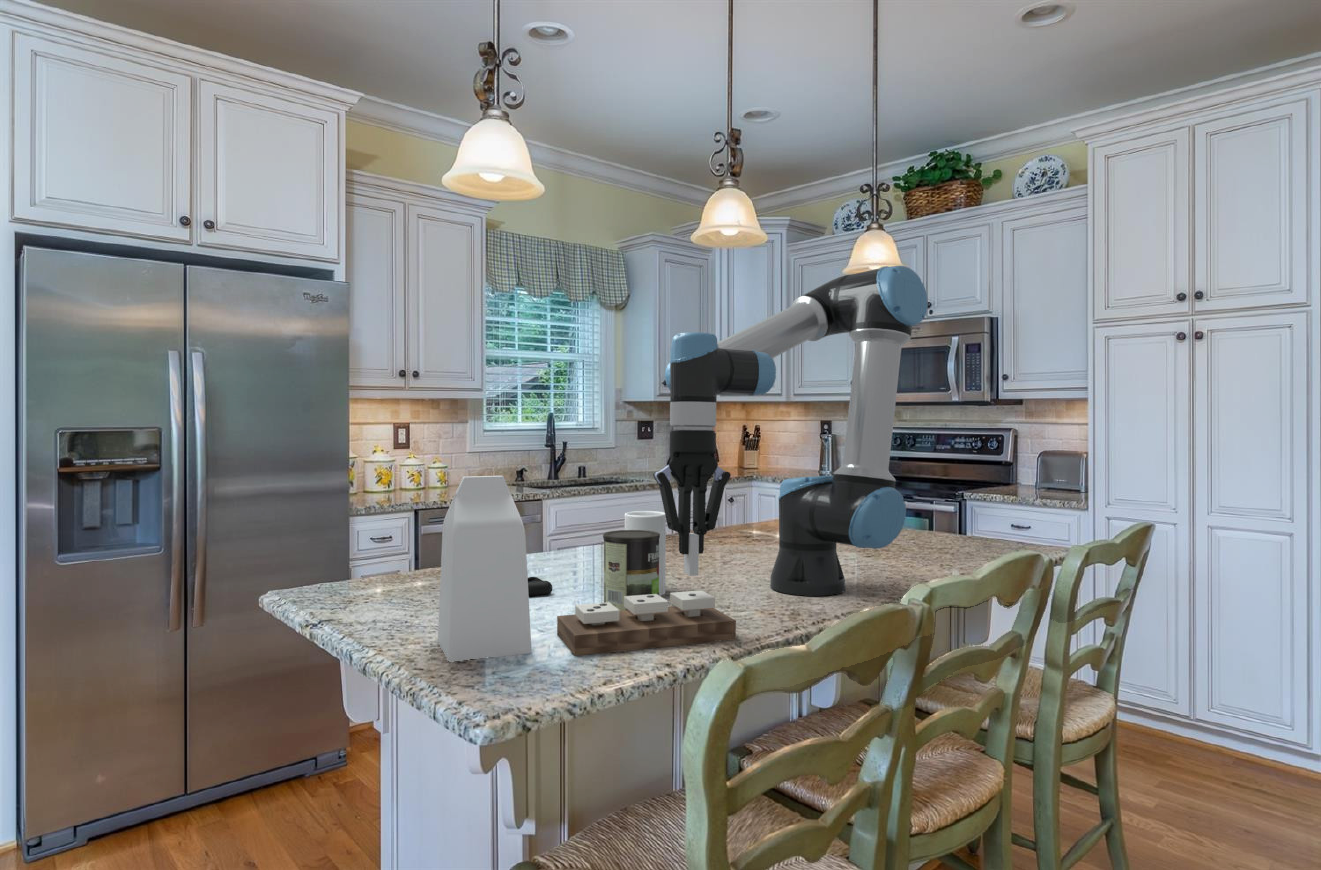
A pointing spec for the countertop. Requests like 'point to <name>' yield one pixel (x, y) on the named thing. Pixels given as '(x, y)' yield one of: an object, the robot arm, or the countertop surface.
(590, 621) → the button
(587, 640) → the button panel
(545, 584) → the door handle
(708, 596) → the button
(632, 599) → the button
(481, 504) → the milk
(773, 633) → the countertop surface
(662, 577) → the cup
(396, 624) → the countertop surface
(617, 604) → the coffee can
